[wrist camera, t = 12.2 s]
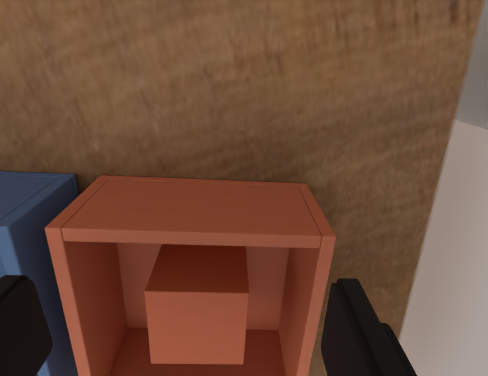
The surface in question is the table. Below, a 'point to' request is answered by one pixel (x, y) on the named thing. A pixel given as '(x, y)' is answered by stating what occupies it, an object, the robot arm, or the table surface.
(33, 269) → the blue bin
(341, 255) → the table surface
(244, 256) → the terracotta block
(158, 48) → the table surface
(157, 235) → the terracotta bin
